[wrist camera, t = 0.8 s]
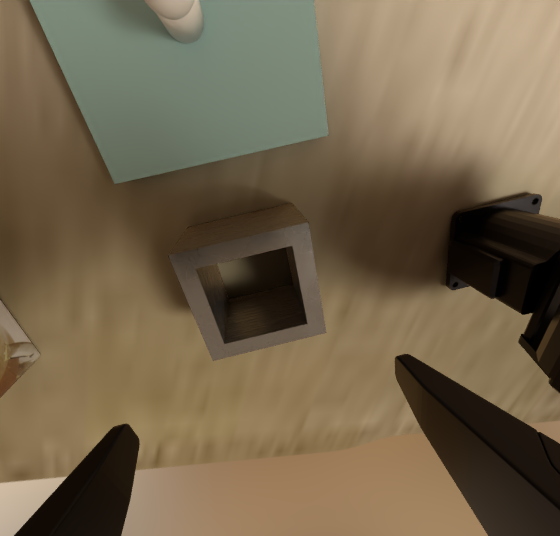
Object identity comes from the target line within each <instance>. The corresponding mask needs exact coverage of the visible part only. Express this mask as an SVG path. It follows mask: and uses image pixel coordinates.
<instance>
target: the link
mask: <svg viewBox="0 0 560 536" xmlns="http://www.w3.org/2000/svg"><path fill="white" fill-rule="evenodd" d="M285 247H286V251H287V256H288V261H289V266H290V271H291V275H292V280H293V284H291V285H286V286H282V287H278V288H274V289H270V290H266V291H262V292H257V293H253V294H249V295H245V296H241V297H237V298H233V299H229V298H228V295H227V292H226V289H225V286H224V283H223V281H222V278H221V275H220V272H219V269H218V266H217V264H218V263H222V262H226V261H230V260H235V259H239V258H243V257H247V256H251V255H256V254H260V253H264V252H268V251H272V250H277V249H281V248H285ZM168 257H169V259H170V261H171V264H172V266H173V268H174V271H175V273H176V275H177V278H178V280H179V283H180V285H181V287H182V290H183V292H184V294H185V297H186V299H187V301H188V304H189V306H190V308H191V311H192V313H193V315H194V318H195V320H196V322H197V325H198V327H199V329H200V332H201V334H202V336H203V339H204V341H205V343H206V346H207V348H208V350H209V353H210V355H211V357H212V360H213V361H215V360H219V359H223V358H227V357H231V356H235V355H239V354H243V353H247V352H251V351H255V350H259V349H263V348H267V347H271V346H275V345H279V344H283V343H287V342H291V341H295V340H299V339H303V338H307V337H311V336H315V335H319V334H324V333H326V328H325V322H324V316H323V310H322V303H321V297H320V291H319V285H318V278H317V272H316V266H315V260H314V253H313V247H312V241H311V235H310V228H309V222H308V221H307V220H306V219H305V218H304V216H303V215H302V214H301V213H300V212H299V211H298V210H297V208H296V207H295V206H294V205H293V204H292V203H289V204H285V205H281V206H276V207H272V208H268V209H264V210H259V211H255V212H251V213H246V214H242V215H238V216H234V217H229V218H225V219H221V220H217V221H212V222H208V223H204V224H199V225H195V226H191V227H188V228H187V229H186V231H185V232H184V234H183V235H182V236H181V238H180V239H179V241H178V242H177V243H176V245H175V246H174V248H173V249H172V251H171V252H170V253H169V255H168Z"/></svg>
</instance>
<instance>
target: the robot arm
mask: <svg viewBox="0 0 560 536" xmlns="http://www.w3.org/2000/svg"><path fill="white" fill-rule="evenodd" d="M541 202H542V196H541V195H539V194H528V195H524V196H520V197H515V198H511V199H507V200H503V201H499V202H494V203H490V204H486V205H482V206H478V207H474V208H469V209H465V210H461V211H458V212H456V213H455V214H454V215H453V216H452V221H451V233H450V244H449V256H448V267H447V279H446V286H447V287H448V288H450V289H451V290H456V289H461V288H465V287H469V286H471V287H472V288H474V289H476V290H477V291H479V292H481V293H482V294H484V295H486V296H487V297H489V298H491V299H494V298H496V299H497V300H499V301H501V302H502V303H504V304H506V305H507V306H509V307H511V308H512V309H514V310H516V311H517V312H519V313H521V314H522V315H525V314H529V313H533V314H532V316H531V318H530V320H529V323H528V325H527V327H526V329H525V332H524V334H521V336H520V339H519V341H518V342H519V344H520V345H521V346H522V347H523V348H524V349H525V351H526V352H527V353H528V354H529V355H530V356H531V358H532V359H533V360H534V361H535V362H536V363H537V365H538V366H539V367H540V368H541V369H542V370H543V372H544V373H545V374H546V375H547V376H548V377H549V384H550V385H551V386H552V387H553V388H554V389H555V390H556V391H557V392H558V393H560V219H558V218H553V217H549V216H544V215H540V214H539V210H540V206H541ZM461 216H462V217H461ZM460 217H461V219H460V220H459V218H460ZM454 282H455V283H454ZM453 283H454V284H453ZM395 375H396V379H397V381H398V383H399V385H400V387H401V389H402V391H403V393H404V395H405V397H406V399H407V401H408V403H409V405H410V407H411V409H412V411H413V413H414V415H415V417H416V419H417V421H418V423H419V425H420V427H421V429H422V430H423V432H424V434H425V435H426V437H427V439H428V440H429V441H430V443H431V445H432V447H433V448H434V450H435V451H436V453H437V455H438V456H439V458H440V459H441V461H442V462H443V464H444V466H445V467H446V469H447V470H448V472H449V474H450V475H451V477H452V478H453V480H454V482H455V483H456V485H457V487H458V488H459V490H460V491H461V492H462V494H463V496H464V498H465V499H466V501H467V503H468V504H469V506H470V507H471V509H472V510H473V512H474V514H475V515H476V517H477V518H478V520H479V522H480V523H481V525H482V526H483V528H484V530H485V531H486V533H487V534H488V536H560V444H559V443H558V442H556V441H554V440H553V439H551V438H549V437H547V436H546V435H544V434H542V433H541V432H537V431H536V430H535V429H534V428H532V427H531V426H529V425H527V424H525V423H524V422H522V421H520V420H519V419H517V418H515V417H514V416H512V415H510V414H509V413H507V412H505V411H504V410H502V409H500V408H499V407H497V406H495V405H494V404H492V403H490V402H488V401H487V400H485V399H483V398H482V397H480V396H478V395H477V394H475V393H473V392H472V391H470V390H468V389H467V388H465V387H463V386H462V385H460V384H458V383H457V382H455V381H453V380H451V379H450V378H448V377H446V376H445V375H443V374H441V373H440V372H438V371H436V370H435V369H433V368H431V367H430V366H428V365H426V364H425V363H423V362H421V361H420V360H418V359H416V358H414V357H413V356H411V355H409V354H403V355H399V356H396V357H395ZM138 451H139V438H138V436H137V435H136V434H135V432H134V431H133V429H132V428H131V427H130V425H129V424H122V425H118V426H115V427H113V428H112V429H111V430H110V431H109V432H108V433H107V434H106V435H105V436H104V437H103V439H102V440H101V441H100V442H99V443H98V444H97V445H96V446H95V447H94V448H93V449H92V451H91V452H90V453H89V454H88V455H87V456H86V457H85V458H84V459H83V460H82V462H81V463H80V464H79V465H78V466H77V467H76V468H75V469H74V470H73V471H72V473H71V474H70V475H69V476H68V477H67V478H66V479H65V480H64V481H63V482H62V484H61V485H60V486H59V487H58V488H57V489H56V490H55V492H53V493H52V495H51V496H50V497H49V498H48V499H47V500H46V501H45V502H44V503H43V504H42V505H41V507H40V508H39V509H38V510H37V511H36V512H35V513H34V514H33V515H32V516H31V518H30V519H29V520H28V521H27V522H26V523H25V524H24V525H23V526H22V527H21V529H20V530H19V531H18V532H17V533H16V534H15V535H14V536H121V534H122V530H123V526H124V522H125V518H126V514H127V510H128V506H129V502H130V498H131V492H132V487H133V481H134V475H135V469H136V463H137V457H138Z"/></svg>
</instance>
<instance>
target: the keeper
mask: <svg viewBox="0 0 560 536" xmlns="http://www.w3.org/2000/svg"><path fill="white" fill-rule="evenodd" d="M30 3H31V5H32V7H33V9H34V11H35V13H36V15H37V18H38V20H39V22H40V24H41V26H42V28H43V31H44V33H45V35H46V37H47V39H48V41H49V43H50V46H51V48H52V50H53V52H54V54H55V56H56V59H57V61H58V63H59V65H60V67H61V69H62V71H63V74H64V76H65V78H66V80H67V82H68V84H69V87H70V89H71V91H72V93H73V95H74V97H75V100H76V102H77V104H78V106H79V108H80V110H81V112H82V115H83V117H84V119H85V121H86V123H87V125H88V128H89V130H90V132H91V134H92V136H93V138H94V140H95V143H96V145H97V147H98V149H99V151H100V153H101V156H102V158H103V160H104V162H105V164H106V166H107V168H108V171H109V173H110V175H111V177H112V179H113V181H114V184H118V183H123V182H127V181H131V180H136V179H140V178H144V177H149V176H153V175H158V174H162V173H166V172H171V171H175V170H180V169H184V168H188V167H193V166H197V165H202V164H206V163H210V162H215V161H219V160H224V159H228V158H232V157H237V156H241V155H245V154H250V153H254V152H259V151H263V150H267V149H272V148H276V147H281V146H285V145H289V144H294V143H298V142H303V141H307V140H311V139H316V138H320V137H325V136H329V134H328V125H327V116H326V107H325V97H324V88H323V79H322V70H321V61H320V52H319V42H318V33H317V24H316V15H315V6H314V0H30Z"/></svg>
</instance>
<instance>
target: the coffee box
mask: <svg viewBox="0 0 560 536" xmlns="http://www.w3.org/2000/svg"><path fill="white" fill-rule="evenodd" d="M39 357H40V353H39V352H38V351H37V349H36V348H35V346H34V345H33V344H32V342H31V341H30V340H29V338H28V337H27V336H26V334H25V333H24V332H23V330H22V329H21V327H20V326H19V325H18V323H17V322H16V320H15V319H14V318H13V316H12V315H11V314H10V312H9V311H8V310H7V308H6V307H5V305H4V304H3V303H2V301H1V300H0V398H1V397H2V396H3V395H4V394H5V393H6V391H7V390H8V389H9V388H10V387H11V386H12V385H13V384H14V383H15V382H16V381H17V380H18V379H19V378H20V377H21V376H22V375H23V374H24V373H25V372H26V371H27V370H28V369H29V367H30V366H31V365H32V364H33V363H34V362H35V361H36V360H37V359H38V358H39Z"/></svg>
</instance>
